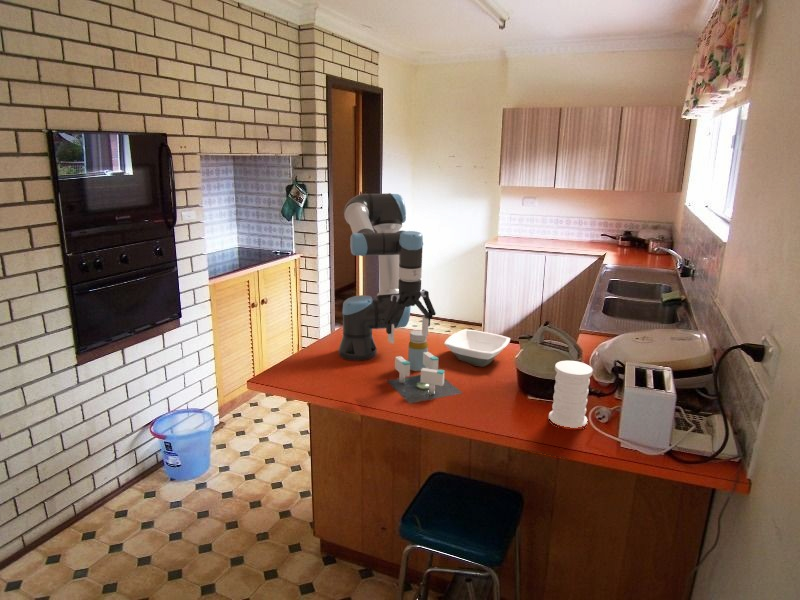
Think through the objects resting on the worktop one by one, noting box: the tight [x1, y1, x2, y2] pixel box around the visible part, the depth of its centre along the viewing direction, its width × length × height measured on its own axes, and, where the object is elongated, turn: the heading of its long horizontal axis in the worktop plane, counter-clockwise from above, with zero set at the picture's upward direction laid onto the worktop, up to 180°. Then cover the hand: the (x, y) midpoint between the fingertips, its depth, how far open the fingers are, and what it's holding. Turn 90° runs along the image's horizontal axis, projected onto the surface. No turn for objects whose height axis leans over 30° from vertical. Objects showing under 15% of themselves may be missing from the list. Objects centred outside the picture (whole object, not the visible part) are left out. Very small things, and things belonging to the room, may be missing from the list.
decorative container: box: [548, 360, 594, 428], centre depth 170 cm, size 12×12×18 cm
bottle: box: [407, 329, 429, 372], centre depth 206 cm, size 7×7×15 cm
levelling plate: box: [386, 374, 463, 404], centre depth 192 cm, size 19×20×2 cm
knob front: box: [420, 368, 445, 394], centre depth 185 cm, size 8×2×8 cm, turn 71°
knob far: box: [423, 351, 440, 370], centre depth 198 cm, size 8×2×8 cm, turn 25°
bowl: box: [443, 328, 511, 368], centre depth 217 cm, size 22×23×8 cm
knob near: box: [394, 355, 411, 383], centre depth 193 cm, size 8×2×8 cm, turn 25°
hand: (408, 338), depth 189 cm, fingers open, 13 cm apart
